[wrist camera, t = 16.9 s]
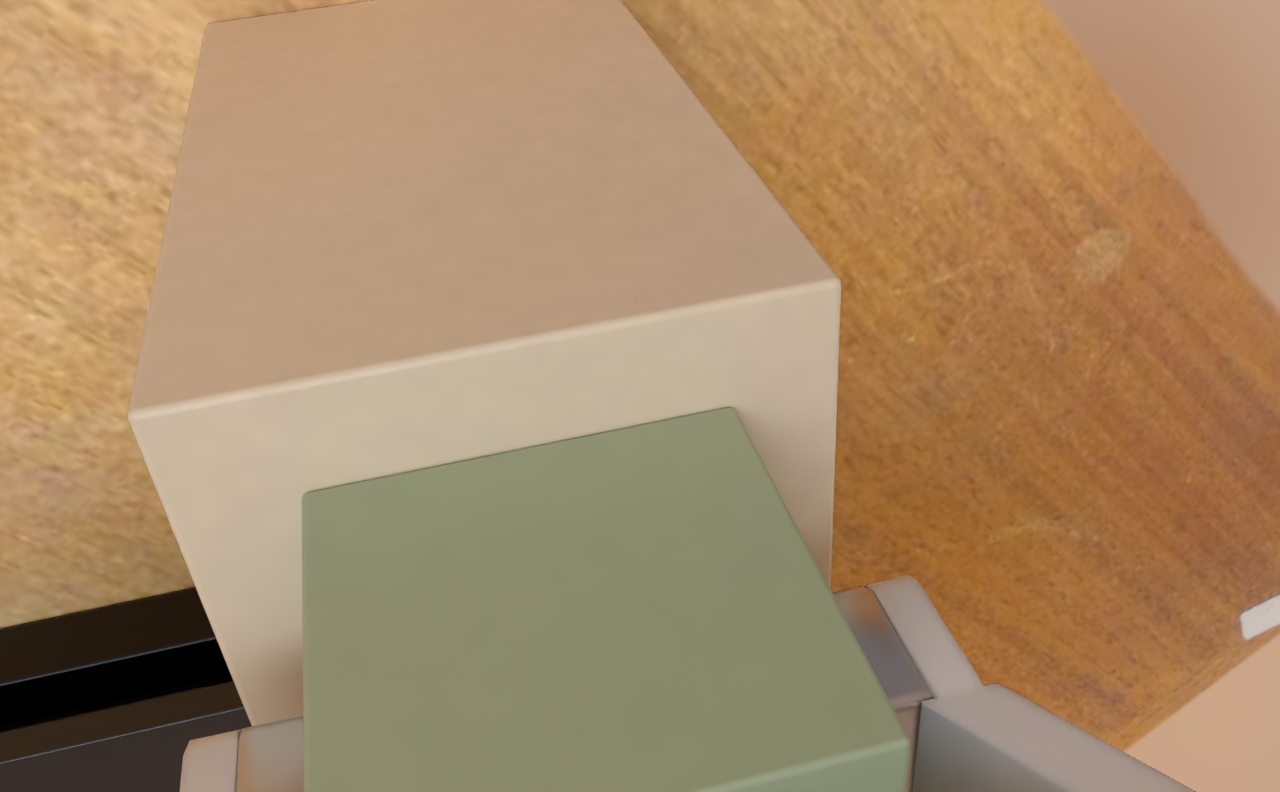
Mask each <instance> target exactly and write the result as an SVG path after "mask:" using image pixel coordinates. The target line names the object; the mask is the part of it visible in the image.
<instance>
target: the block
mask: <svg viewBox="0 0 1280 792" xmlns="http://www.w3.org/2000/svg"><path fill="white" fill-rule="evenodd" d="M302 634H303V780H304V792H906V785H907V775H908V765H909V755H910V738H909V737H908V735H907V733H906V731H905V729H904V727H903V725H902V723H901V721H900V720H899V718H898V716H897V714H896V712H895V710H894V708H893V706H892V705H891V703H890V701H889V699H888V697H887V695H886V693H885V691H884V690H883V688H882V686H881V684H880V682H879V680H878V678H877V676H876V674H875V673H874V671H873V669H872V667H871V665H870V663H869V661H868V659H867V658H866V656H865V654H864V652H863V650H862V648H861V646H860V644H859V642H858V641H857V639H856V637H855V635H854V633H853V631H852V629H851V627H850V626H849V624H848V622H847V620H846V618H845V616H844V614H843V612H842V610H841V609H840V607H839V605H838V603H837V601H836V599H835V597H834V595H833V594H832V592H831V590H830V588H829V586H828V584H827V582H826V580H825V578H824V577H823V575H822V573H821V571H820V569H819V567H818V565H817V563H816V562H815V560H814V558H813V556H812V554H811V552H810V550H809V548H808V546H807V545H806V543H805V541H804V539H803V537H802V535H801V533H800V531H799V530H798V528H797V526H796V524H795V522H794V520H793V518H792V516H791V514H790V513H789V511H788V509H787V507H786V505H785V503H784V501H783V499H782V498H781V496H780V494H779V492H778V490H777V488H776V486H775V484H774V482H773V481H772V479H771V477H770V475H769V473H768V471H767V469H766V467H765V466H764V464H763V462H762V460H761V458H760V456H759V454H758V452H757V450H756V449H755V447H754V445H753V443H752V441H751V439H750V437H749V435H748V434H747V432H746V430H745V428H744V426H743V424H742V422H741V420H740V418H739V417H738V415H737V413H736V411H735V409H733V408H730V407H728V408H723V409H718V410H713V411H708V412H703V413H698V414H693V415H688V416H683V417H678V418H673V419H668V420H663V421H658V422H653V423H648V424H644V425H639V426H634V427H629V428H624V429H619V430H614V431H609V432H604V433H599V434H594V435H589V436H584V437H579V438H574V439H569V440H564V441H559V442H554V443H550V444H545V445H540V446H535V447H530V448H525V449H520V450H515V451H510V452H505V453H500V454H495V455H490V456H485V457H480V458H475V459H470V460H465V461H461V462H456V463H451V464H446V465H441V466H436V467H431V468H426V469H421V470H416V471H411V472H406V473H401V474H396V475H391V476H386V477H381V478H376V479H371V480H367V481H362V482H357V483H352V484H347V485H342V486H337V487H332V488H327V489H322V490H317V491H312V492H307V493H306V494H304V495H303V497H302Z"/></svg>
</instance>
